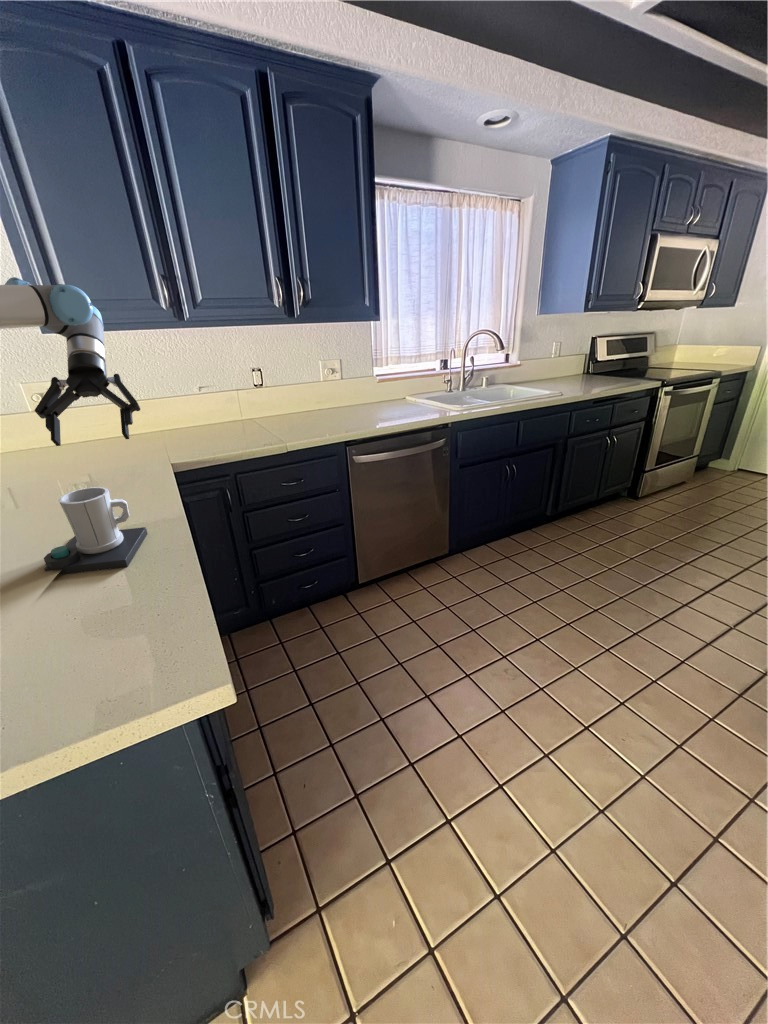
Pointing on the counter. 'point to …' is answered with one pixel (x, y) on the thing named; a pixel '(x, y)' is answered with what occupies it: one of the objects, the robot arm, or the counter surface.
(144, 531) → the scale
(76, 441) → the counter surface
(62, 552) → the scale button
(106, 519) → the cup
